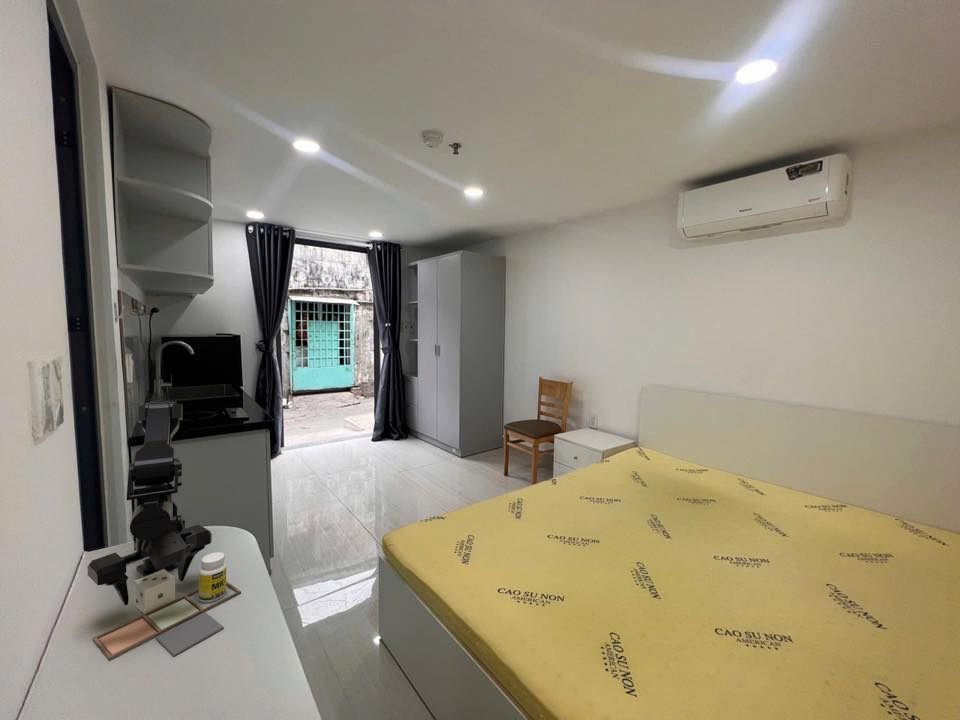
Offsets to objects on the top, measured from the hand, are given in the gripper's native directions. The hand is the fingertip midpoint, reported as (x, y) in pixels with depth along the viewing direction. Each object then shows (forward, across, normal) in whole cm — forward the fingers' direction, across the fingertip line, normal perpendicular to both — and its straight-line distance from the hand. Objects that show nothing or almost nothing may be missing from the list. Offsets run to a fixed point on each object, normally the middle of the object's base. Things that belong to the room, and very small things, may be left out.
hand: (154, 592), depth 81 cm
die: (+2, 0, 0) cm, 2 cm away
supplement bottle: (+2, +8, -7) cm, 11 cm away
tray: (+2, 0, -7) cm, 7 cm away
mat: (+2, 0, -15) cm, 15 cm away
